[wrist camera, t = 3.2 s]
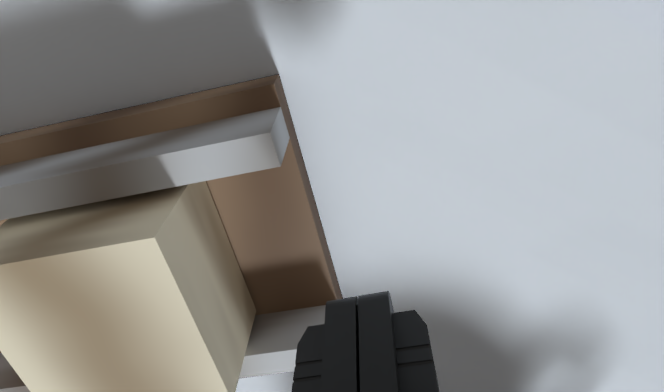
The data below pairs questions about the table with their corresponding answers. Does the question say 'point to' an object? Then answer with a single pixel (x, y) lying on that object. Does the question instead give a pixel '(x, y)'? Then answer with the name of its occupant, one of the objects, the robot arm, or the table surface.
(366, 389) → the robot arm
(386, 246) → the table surface
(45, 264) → the birch block
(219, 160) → the shallow wooden tray
